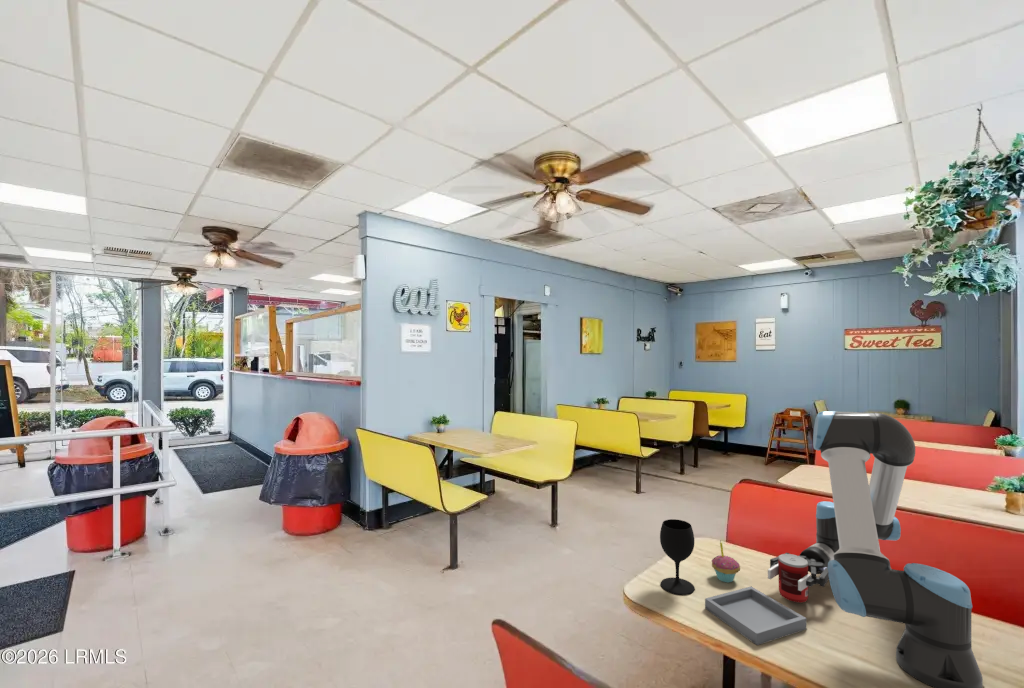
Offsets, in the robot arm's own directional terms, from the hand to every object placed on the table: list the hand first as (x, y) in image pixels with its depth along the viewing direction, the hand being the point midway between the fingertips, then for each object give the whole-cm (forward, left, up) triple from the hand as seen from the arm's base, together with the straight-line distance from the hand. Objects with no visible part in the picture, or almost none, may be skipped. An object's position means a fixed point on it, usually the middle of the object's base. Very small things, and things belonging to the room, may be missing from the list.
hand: (783, 580), depth 138 cm
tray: (-1, +12, -8) cm, 15 cm away
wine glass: (+21, +20, -8) cm, 31 cm away
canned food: (+1, -6, -7) cm, 9 cm away
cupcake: (+19, +2, -8) cm, 21 cm away
